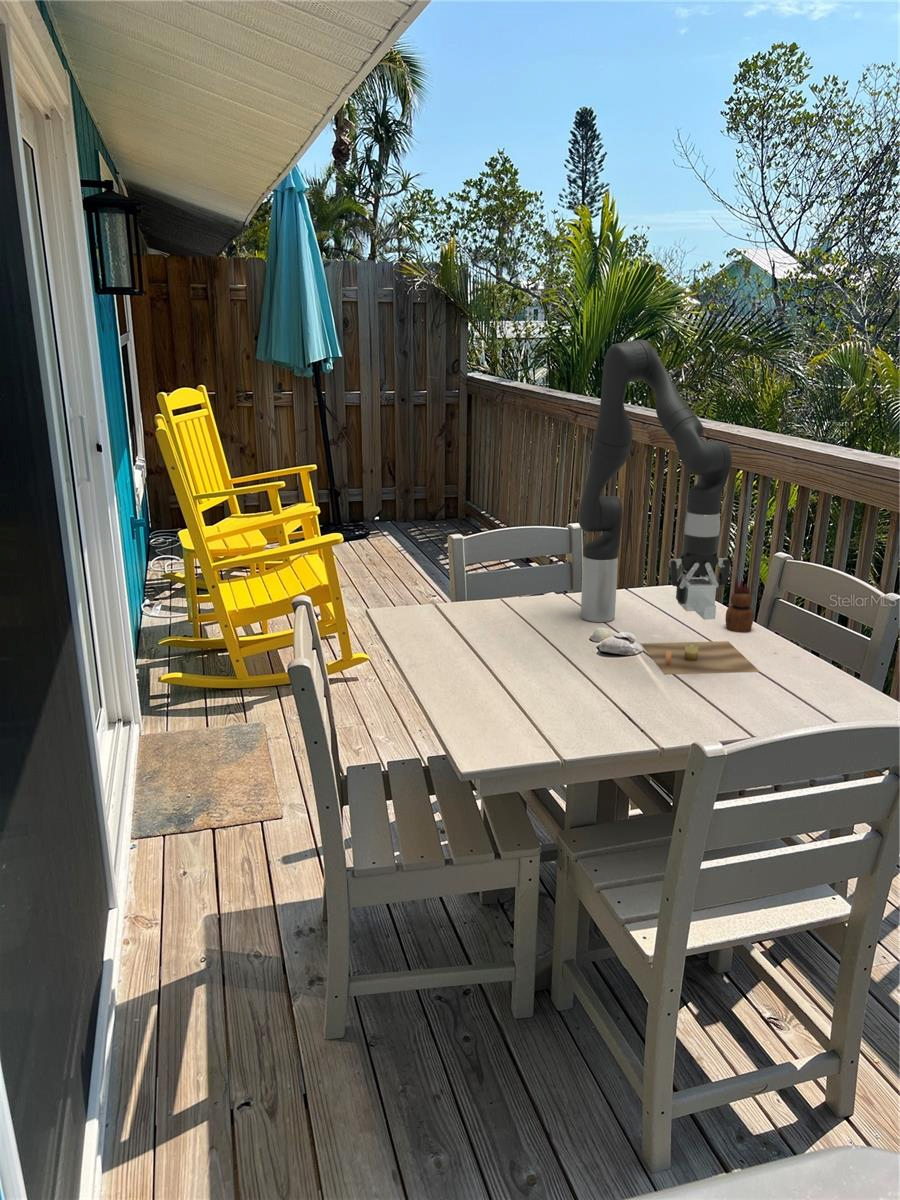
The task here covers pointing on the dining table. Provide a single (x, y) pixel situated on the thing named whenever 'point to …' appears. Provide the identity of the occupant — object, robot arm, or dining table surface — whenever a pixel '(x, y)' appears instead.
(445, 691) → the dining table surface
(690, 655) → the small yellow jar
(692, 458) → the robot arm
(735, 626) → the wooden figurine
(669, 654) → the dowel
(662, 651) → the board
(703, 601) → the square container with handle
